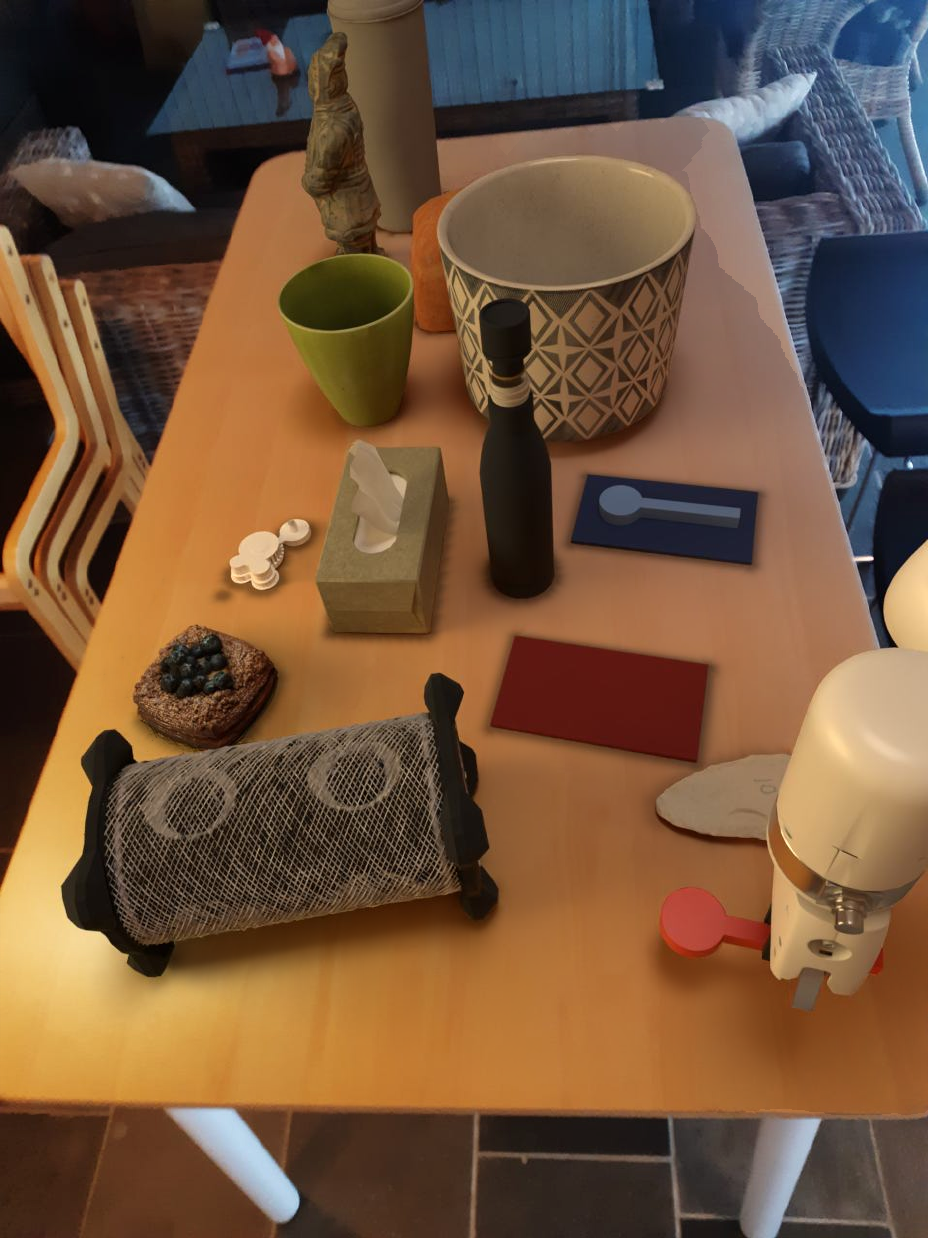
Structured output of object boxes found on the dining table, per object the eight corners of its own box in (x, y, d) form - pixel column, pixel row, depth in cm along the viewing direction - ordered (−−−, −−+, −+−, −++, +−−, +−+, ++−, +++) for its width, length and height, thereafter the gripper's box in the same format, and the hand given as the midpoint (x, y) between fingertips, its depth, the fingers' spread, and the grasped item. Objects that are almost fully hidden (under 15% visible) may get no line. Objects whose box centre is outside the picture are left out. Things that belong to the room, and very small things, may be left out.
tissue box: (363, 499, 98) (332, 383, 86) (449, 499, 97) (431, 381, 84) (331, 635, 87) (291, 523, 74) (429, 637, 85) (404, 523, 73)
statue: (332, 252, 131) (279, 23, 108) (394, 250, 130) (354, 17, 106) (317, 295, 125) (258, 60, 101) (382, 293, 123) (337, 54, 100)
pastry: (226, 765, 79) (205, 732, 74) (126, 720, 83) (99, 685, 78) (294, 672, 84) (277, 635, 80) (196, 633, 89) (175, 597, 84)
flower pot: (455, 390, 108) (440, 271, 96) (384, 464, 101) (357, 345, 89) (360, 358, 114) (334, 241, 102) (287, 425, 107) (249, 309, 95)
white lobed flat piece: (303, 589, 91) (298, 575, 89) (222, 594, 92) (216, 581, 90) (312, 523, 97) (307, 509, 95) (236, 529, 97) (230, 515, 96)
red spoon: (877, 932, 59) (882, 924, 58) (877, 999, 57) (884, 992, 56) (663, 889, 63) (664, 881, 62) (655, 950, 61) (656, 943, 59)
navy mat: (757, 494, 93) (758, 491, 92) (751, 564, 87) (751, 562, 87) (587, 476, 97) (587, 473, 97) (570, 542, 91) (570, 540, 91)
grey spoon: (739, 508, 91) (741, 497, 90) (736, 539, 89) (738, 528, 87) (602, 493, 94) (603, 482, 93) (595, 523, 92) (596, 512, 91)
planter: (630, 491, 95) (642, 310, 78) (420, 434, 104) (390, 261, 87) (706, 351, 108) (731, 171, 91) (514, 312, 117) (504, 141, 100)
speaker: (154, 811, 77) (77, 722, 65) (476, 755, 77) (458, 656, 65) (138, 989, 67) (45, 922, 56) (504, 925, 68) (489, 845, 56)
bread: (667, 308, 114) (678, 189, 102) (417, 339, 116) (398, 225, 103) (646, 252, 123) (654, 136, 111) (414, 281, 124) (396, 170, 112)
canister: (445, 235, 131) (410, -48, 104) (362, 240, 133) (306, -38, 105) (452, 192, 139) (421, -82, 111) (373, 197, 140) (324, -71, 113)
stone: (842, 839, 69) (849, 828, 68) (666, 860, 70) (668, 849, 68) (810, 751, 74) (815, 739, 72) (646, 771, 74) (647, 759, 73)
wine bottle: (485, 594, 88) (452, 335, 64) (498, 547, 92) (471, 286, 68) (548, 601, 87) (539, 339, 63) (559, 553, 90) (553, 289, 67)
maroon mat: (707, 666, 80) (708, 664, 80) (696, 762, 74) (697, 760, 74) (515, 637, 84) (514, 635, 84) (490, 726, 79) (490, 724, 78)
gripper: (934, 1008, 40) (844, 1084, 54) (920, 716, 49) (846, 849, 63) (761, 970, 42) (719, 1053, 56) (777, 695, 50) (737, 829, 65)
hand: (786, 944), depth 59 cm, fingers closed on red spoon, 1 cm apart
